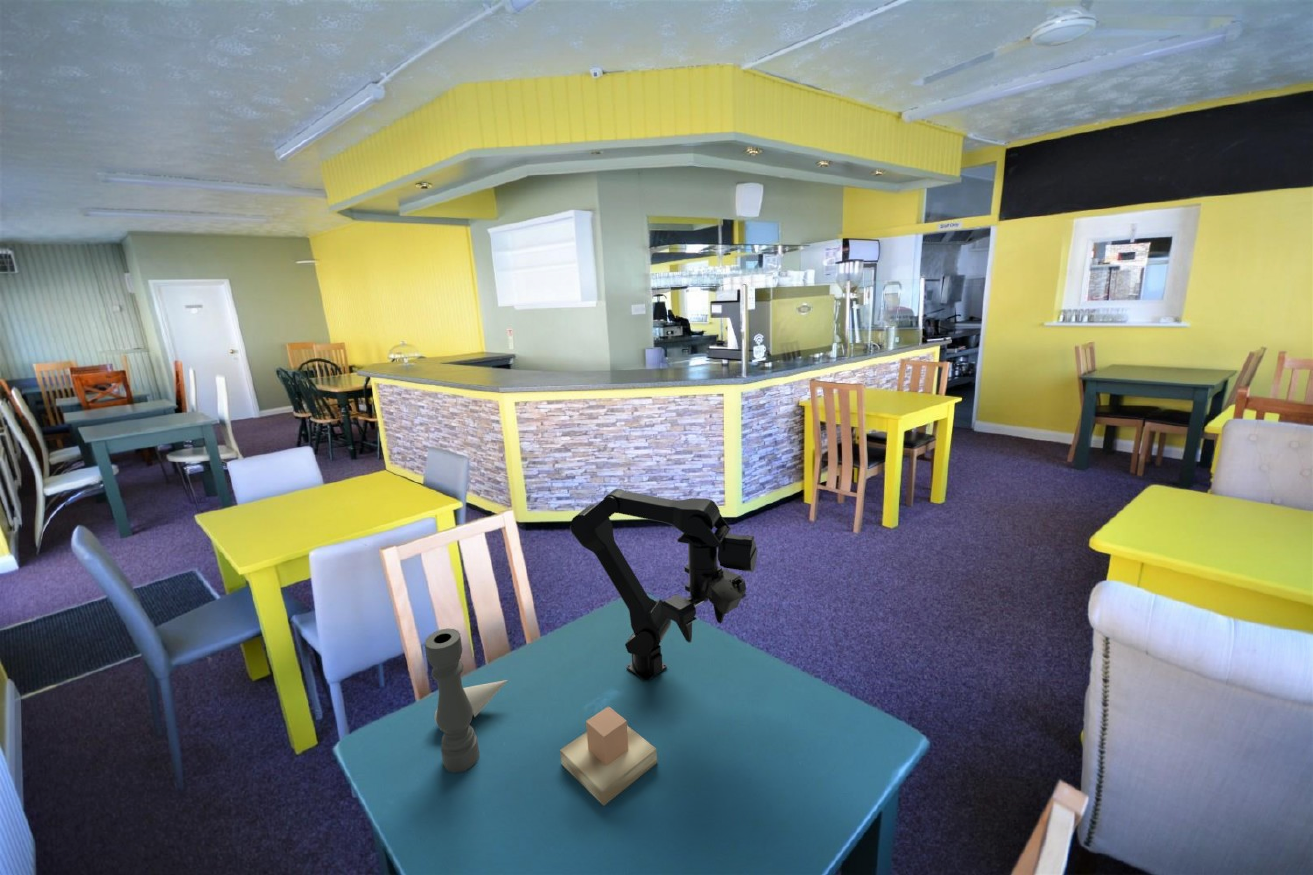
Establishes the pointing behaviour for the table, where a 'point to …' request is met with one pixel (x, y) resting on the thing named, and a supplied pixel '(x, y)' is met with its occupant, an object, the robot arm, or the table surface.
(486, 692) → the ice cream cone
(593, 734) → the terracotta block
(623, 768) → the birch base
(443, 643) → the candle holder
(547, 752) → the table surface
